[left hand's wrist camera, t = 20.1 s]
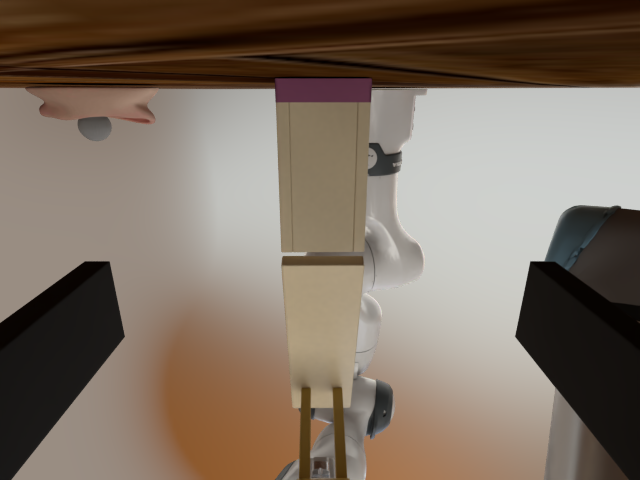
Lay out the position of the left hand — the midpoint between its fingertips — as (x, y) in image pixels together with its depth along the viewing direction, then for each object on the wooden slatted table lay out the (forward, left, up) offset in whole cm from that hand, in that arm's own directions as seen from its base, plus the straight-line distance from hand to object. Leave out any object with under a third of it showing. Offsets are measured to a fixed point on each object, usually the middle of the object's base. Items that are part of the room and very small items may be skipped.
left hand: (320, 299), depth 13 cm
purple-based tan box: (-13, +10, -7) cm, 17 cm away
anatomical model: (-11, +36, -7) cm, 38 cm away
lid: (-9, +7, +10) cm, 15 cm away
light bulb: (-29, +81, -7) cm, 86 cm away
